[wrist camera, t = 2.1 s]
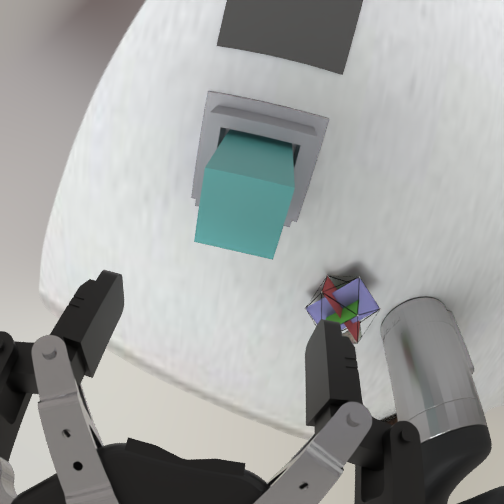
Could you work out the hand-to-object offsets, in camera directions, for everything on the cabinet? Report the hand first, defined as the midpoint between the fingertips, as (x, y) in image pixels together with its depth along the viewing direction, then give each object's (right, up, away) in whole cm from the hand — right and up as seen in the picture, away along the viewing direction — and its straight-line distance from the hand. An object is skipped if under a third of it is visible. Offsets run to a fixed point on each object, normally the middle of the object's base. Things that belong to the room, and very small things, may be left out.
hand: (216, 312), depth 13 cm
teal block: (+2, +10, +14) cm, 18 cm away
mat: (+5, +21, +7) cm, 23 cm away
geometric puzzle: (+11, -2, +22) cm, 25 cm away
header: (+2, +10, +15) cm, 18 cm away
